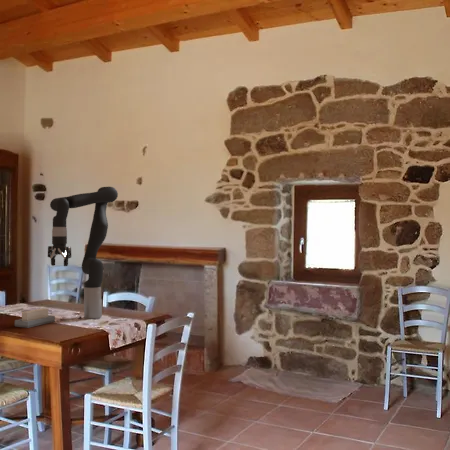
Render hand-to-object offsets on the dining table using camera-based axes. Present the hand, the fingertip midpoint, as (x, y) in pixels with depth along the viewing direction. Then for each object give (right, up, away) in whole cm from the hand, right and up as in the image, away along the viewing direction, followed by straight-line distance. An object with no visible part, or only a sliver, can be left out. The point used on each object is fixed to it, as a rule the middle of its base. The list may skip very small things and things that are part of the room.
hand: (59, 265), depth 282 cm
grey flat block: (-11, -30, -5) cm, 32 cm away
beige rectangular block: (-11, -29, -5) cm, 31 cm away
